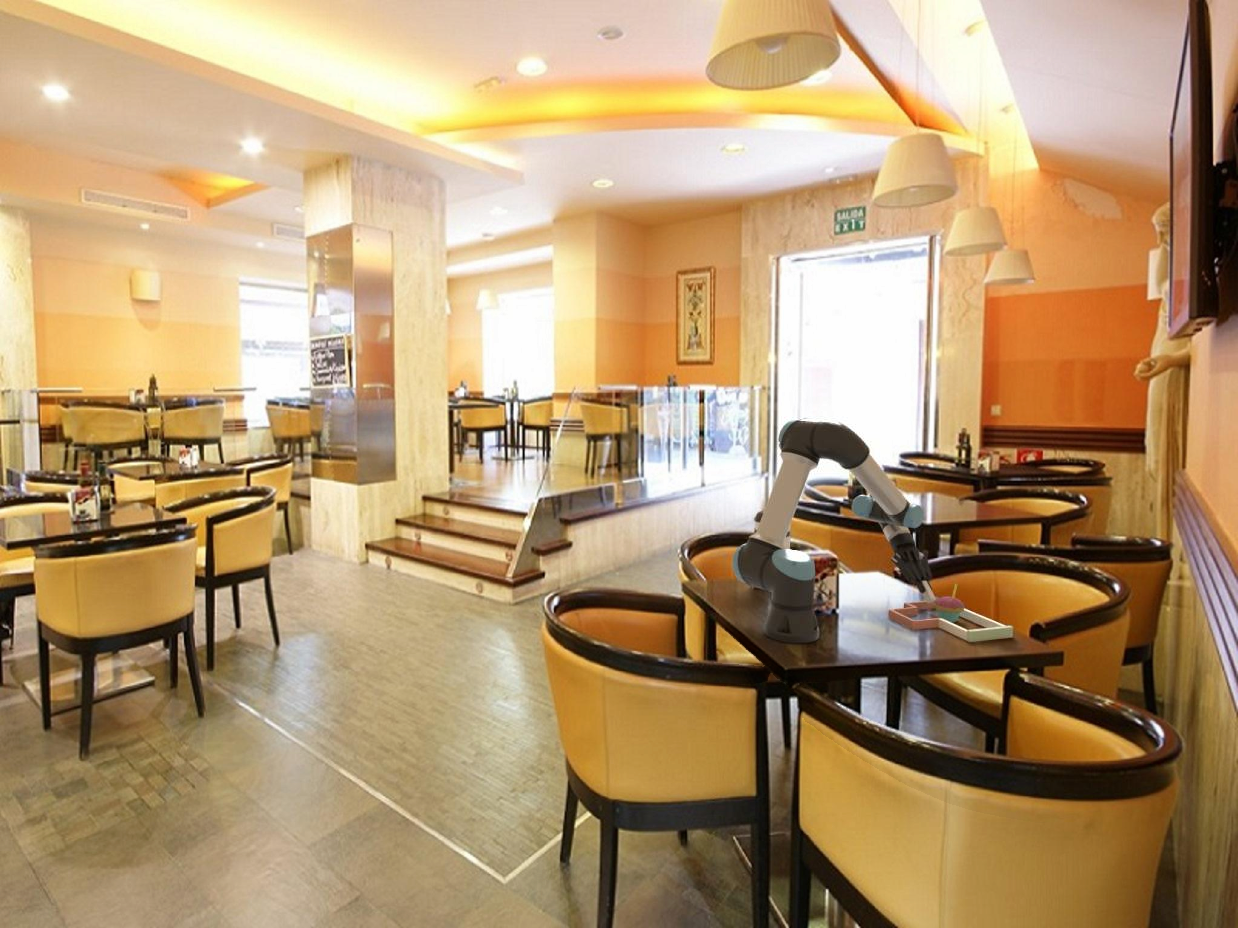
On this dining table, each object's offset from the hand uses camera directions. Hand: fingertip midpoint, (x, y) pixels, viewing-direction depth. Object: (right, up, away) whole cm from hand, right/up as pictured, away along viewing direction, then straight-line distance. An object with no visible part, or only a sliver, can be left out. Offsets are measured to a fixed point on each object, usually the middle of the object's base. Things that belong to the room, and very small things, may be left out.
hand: (931, 601), depth 216 cm
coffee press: (-45, -1, +25) cm, 51 cm away
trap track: (-2, -5, -11) cm, 12 cm away
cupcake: (+2, -4, -7) cm, 9 cm away
